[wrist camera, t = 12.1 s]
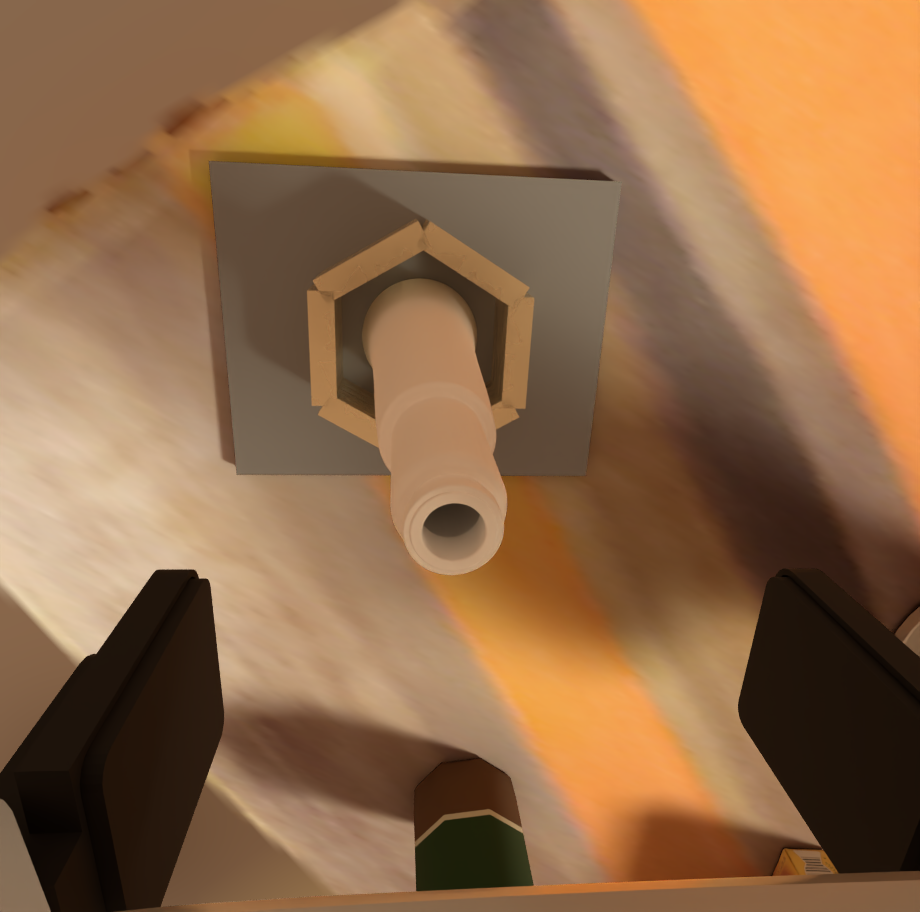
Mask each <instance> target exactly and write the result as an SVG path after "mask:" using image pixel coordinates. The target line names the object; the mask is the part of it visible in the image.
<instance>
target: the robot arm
mask: <svg viewBox="0 0 920 912" xmlns="http://www.w3.org/2000/svg"><path fill="white" fill-rule="evenodd" d="M738 712H739V717H740V720H741V723H742V725H743V726H744V728H745V730H746V731H747V733H748V734H749V736H750V737H751V739H752V740H753V742H754V743H755V745H756V747H757V748H758V750H759V751H760V753H761V754H762V756H763V757H764V759H765V760H766V762H767V764H768V765H769V767H770V768H771V770H772V771H773V773H774V774H775V776H776V777H777V779H778V781H779V782H780V784H781V785H782V787H783V788H784V790H785V791H786V793H787V794H788V796H789V798H790V799H791V801H792V802H793V804H794V805H795V807H796V808H797V810H798V811H799V813H800V815H801V816H802V818H803V819H804V821H805V822H806V824H807V825H808V827H809V828H810V830H811V831H812V833H813V835H814V836H815V838H816V839H817V841H818V842H819V844H820V845H821V847H822V848H823V850H824V852H825V853H826V855H827V856H828V858H829V859H830V861H831V862H832V864H833V865H834V867H835V869H836V870H837V872H838V873H839V874H816V875H788V876H760V877H733V878H708V879H684V880H659V881H635V882H611V883H588V884H565V885H542V886H519V887H497V888H476V889H456V890H435V891H415V892H394V893H374V894H353V895H333V896H313V897H297V898H281V899H266V900H252V901H236V902H220V903H205V904H191V905H176V906H166V907H160V906H161V904H162V901H163V898H164V895H165V892H166V890H167V887H168V883H169V881H170V878H171V876H172V873H173V870H174V867H175V864H176V862H177V859H178V856H179V853H180V850H181V848H182V845H183V842H184V839H185V836H186V833H187V831H188V828H189V825H190V822H191V820H192V816H193V814H194V811H195V808H196V806H197V802H198V800H199V797H200V794H201V792H202V788H203V786H204V783H205V780H206V778H207V775H208V772H209V769H210V766H211V764H212V761H213V758H214V755H215V752H216V750H217V747H218V744H219V741H220V738H221V735H222V731H223V724H224V708H223V698H222V689H221V680H220V671H219V661H218V652H217V643H216V633H215V624H214V615H213V606H212V596H211V587H210V583H209V580H208V579H199V577H198V574H197V572H196V571H195V570H156V571H155V572H154V573H153V574H152V576H151V577H150V579H149V580H148V582H147V583H146V584H145V586H144V587H143V589H142V590H141V591H140V593H139V594H138V596H137V597H136V599H135V600H134V601H133V603H132V604H131V606H130V607H129V609H128V610H127V611H126V613H125V614H124V616H123V617H122V618H121V620H120V621H119V623H118V624H117V626H116V627H115V628H114V630H113V631H112V633H111V634H110V635H109V637H108V638H107V640H106V641H105V643H104V644H103V645H102V647H101V648H100V650H99V651H98V653H97V654H92V655H89V656H87V657H86V658H85V659H84V660H83V661H82V662H81V663H80V664H79V665H78V667H77V668H76V670H75V671H74V672H73V674H72V675H71V676H70V678H69V679H68V681H67V682H66V683H65V685H64V686H63V688H62V689H61V690H60V692H59V693H58V694H57V696H56V697H55V699H54V700H53V701H52V703H51V704H50V705H49V707H48V708H47V710H46V711H45V712H44V714H43V715H42V716H41V718H40V719H39V721H38V722H37V723H36V725H35V726H34V727H33V729H32V730H31V732H30V733H29V735H28V736H27V737H26V738H25V740H24V741H23V743H22V744H21V745H20V747H19V748H18V749H17V751H16V752H15V754H14V755H13V756H12V758H11V759H10V761H9V762H8V763H7V765H6V766H5V767H4V769H3V771H2V772H1V773H0V912H920V607H918V608H917V609H916V610H915V611H914V612H913V613H912V614H911V615H910V616H909V617H908V618H907V619H906V620H905V621H904V623H903V624H902V625H901V626H900V627H899V629H898V630H897V632H896V633H895V635H894V634H893V633H892V632H890V631H889V630H888V629H887V628H886V627H885V626H884V625H882V624H881V623H880V622H879V621H878V620H877V619H876V618H874V617H873V616H872V615H871V614H870V613H869V612H868V611H866V610H865V609H864V608H863V607H862V606H861V605H860V604H858V603H857V602H856V601H855V600H854V599H853V598H852V597H850V596H849V595H848V594H847V593H846V592H845V591H844V590H842V589H841V588H840V587H839V586H838V585H837V584H836V583H834V582H833V581H832V580H831V579H830V578H829V577H828V576H826V575H825V574H824V573H823V572H822V571H820V570H818V569H782V570H780V571H779V572H778V573H777V574H776V577H772V578H770V579H769V581H768V582H767V585H766V588H765V593H764V597H763V601H762V605H761V609H760V614H759V618H758V622H757V626H756V630H755V635H754V639H753V643H752V647H751V651H750V656H749V660H748V664H747V668H746V672H745V676H744V681H743V685H742V689H741V693H740V697H739V702H738Z"/></svg>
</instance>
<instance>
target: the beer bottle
mask: <svg viewBox="0 0 920 912" xmlns="http://www.w3.org/2000/svg"><path fill="white" fill-rule="evenodd" d="M414 830H415V863H416V891H435V890H456V889H476V888H497V887H519V886H534V885H533V880H532V875H531V870H530V865H529V860H528V855H527V850H526V845H525V840H524V835H523V830H522V826H521V821H520V816H519V811H518V806H517V801H516V796H515V793H514V789H513V785H512V782H511V778H510V777H509V776H508V775H507V774H505V773H503V772H502V771H500V770H498V769H497V768H495V767H493V766H492V765H490V764H488V763H487V762H485V761H484V760H482V759H480V758H477V759H468V760H460V761H452V762H444V763H441V764H440V765H439V766H438V767H437V768H436V769H435V770H434V771H433V772H431V773H430V774H429V775H428V776H427V777H426V778H425V779H424V780H423V781H422V782H421V783H420V784H419V785H418V786H417V787H416V789H415V795H414Z"/></svg>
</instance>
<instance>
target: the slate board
mask: <svg viewBox="0 0 920 912" xmlns="http://www.w3.org/2000/svg"><path fill="white" fill-rule="evenodd" d="M209 168H210V180H211V191H212V202H213V214H214V225H215V236H216V248H217V259H218V270H219V281H220V293H221V304H222V315H223V327H224V338H225V349H226V360H227V372H228V383H229V394H230V406H231V417H232V428H233V439H234V451H235V462H236V473H237V475H391V472H390V471H389V469H388V468H387V466H386V465H385V463H384V461H383V459H382V457H381V454H380V450H379V448H378V447H376V446H374V445H372V444H370V443H369V442H367V441H365V440H363V439H361V438H359V437H358V436H356V435H354V434H352V433H350V432H348V431H346V430H345V429H343V428H341V427H339V426H337V425H335V424H334V423H332V422H330V421H328V420H326V419H324V418H323V417H321V416H319V415H318V412H319V410H320V407H321V406H312V401H311V376H310V352H309V328H308V304H307V290H308V289H309V288H310V287H311V286H312V285H313V284H314V282H313V279H314V278H316V277H317V276H318V275H319V274H320V273H321V272H322V271H324V270H325V269H327V268H329V267H331V266H333V265H334V264H336V263H338V262H340V261H341V260H343V259H345V258H347V257H348V256H350V255H352V254H354V253H356V252H357V251H359V250H361V249H363V248H364V247H366V246H368V245H370V244H372V243H373V242H375V241H377V240H379V239H380V238H382V237H384V236H386V235H387V234H389V233H391V232H393V231H395V230H396V229H398V228H400V227H402V226H403V225H405V224H407V223H409V222H411V221H412V220H414V219H417V220H418V221H419V223H420V225H421V227H422V225H423V224H424V222H425V220H426V219H427V220H429V221H431V222H432V223H434V224H435V225H437V226H438V227H440V228H441V229H443V230H444V231H446V232H447V233H449V234H450V235H452V236H453V237H455V238H456V239H458V240H459V241H461V242H462V243H464V244H465V245H467V246H468V247H470V248H471V249H473V250H474V251H476V252H477V253H479V254H480V255H482V256H483V257H485V258H486V259H488V260H489V261H491V262H492V263H494V264H495V265H497V266H498V267H500V268H501V269H503V270H504V271H506V272H507V273H509V274H510V275H512V276H513V277H515V278H516V279H518V280H519V281H521V282H522V283H524V284H525V285H527V286H528V287H530V288H529V289H528V291H527V293H528V294H530V295H531V296H533V297H534V309H533V321H532V333H531V346H530V358H529V370H528V382H527V395H526V407H525V409H515V410H516V412H517V414H518V415H519V418H517V419H515V420H513V421H511V422H510V423H508V424H506V425H504V426H502V427H500V428H498V429H496V445H495V449H494V452H493V457H494V459H495V462H496V465H497V467H498V470H499V473H500V475H501V476H586V471H587V463H588V455H589V447H590V439H591V430H592V422H593V414H594V406H595V397H596V389H597V381H598V373H599V365H600V356H601V348H602V340H603V332H604V323H605V315H606V307H607V299H608V291H609V282H610V274H611V266H612V258H613V249H614V241H615V233H616V225H617V217H618V208H619V200H620V192H621V184H622V182H618V181H598V180H578V179H558V178H538V177H518V176H498V175H478V174H458V173H438V172H418V171H398V170H378V169H358V168H339V167H319V166H299V165H279V164H259V163H239V162H219V161H209ZM416 278H422V279H431V280H435V281H438V282H441V283H443V284H445V285H447V286H449V287H450V288H452V289H453V290H455V291H456V292H457V293H458V294H459V295H460V296H461V297H462V298H463V299H464V300H465V301H466V303H467V304H468V306H469V308H470V309H471V311H472V314H473V316H474V319H475V322H476V328H477V344H476V350H475V354H476V357H477V361H478V364H479V368H480V371H481V374H482V377H483V380H484V383H486V382H488V381H490V380H491V370H492V354H493V337H494V321H495V304H496V297H495V296H493V295H492V294H490V293H488V292H487V291H485V290H484V289H482V288H481V287H479V286H478V285H476V284H475V283H473V282H472V281H470V280H468V279H467V278H465V277H464V276H462V275H461V274H459V273H458V272H456V271H455V270H453V269H452V268H450V267H448V266H447V265H445V264H444V263H442V262H441V261H439V260H438V259H436V258H435V257H433V256H432V255H430V254H428V253H427V252H425V251H424V250H423V251H422V252H420V253H418V254H416V255H414V256H413V257H411V258H409V259H407V260H405V261H404V262H402V263H400V264H398V265H396V266H395V267H393V268H391V269H389V270H388V271H386V272H384V273H382V274H380V275H379V276H377V277H375V278H373V279H371V280H370V281H368V282H366V283H364V284H362V285H361V286H359V287H357V288H355V289H353V290H352V291H350V292H348V293H346V294H345V295H343V296H341V305H342V349H343V378H345V379H347V380H349V381H351V382H352V383H354V384H356V385H358V386H359V387H361V388H363V389H365V390H366V391H368V392H370V393H372V394H373V395H374V378H373V368H372V367H371V365H370V364H369V362H368V360H367V357H366V355H365V352H364V348H363V342H362V329H363V323H364V319H365V316H366V314H367V311H368V309H369V307H370V306H371V304H372V303H373V301H374V300H375V299H376V298H377V297H378V295H379V294H381V293H382V292H383V291H384V290H385V289H387V288H388V287H390V286H392V285H394V284H396V283H398V282H401V281H404V280H408V279H416Z"/></svg>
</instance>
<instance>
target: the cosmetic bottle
mask: <svg viewBox="0 0 920 912" xmlns="http://www.w3.org/2000/svg"><path fill="white" fill-rule="evenodd" d="M362 342H363V348H364V352H365V355H366V357H367V360H368V362H369V364H370V365H371V367H372V368H373V378H374V400H375V418H376V429H377V438H378V445H379V450H380V454H381V457H382V459H383V461H384V463H385V465H386V466H387V468H388V469H389V471H390V472H391V497H390V510H391V516H392V520H393V523H394V526H395V528H396V530H397V532H398V533H399V535H400V537H401V538H402V539H403V540H404V544H405V547H406V549H407V551H408V553H409V554H410V555H411V557H412V558H413V559H414V560H415V561H416V562H417V563H418V564H419V565H421V566H422V567H424V568H425V569H427V570H429V571H432V572H434V573H438V574H443V575H459V574H465V573H468V572H471V571H474V570H476V569H478V568H480V567H481V566H483V565H484V564H485V563H487V562H488V561H489V560H490V559H491V558H492V557H493V556H494V555H495V553H496V552H497V550H498V549H499V546H500V544H501V542H502V539H503V535H504V521H505V517H506V513H507V493H506V489H505V486H504V483H503V480H502V478H501V475H500V473H499V470H498V467H497V465H496V462H495V459H494V457H493V452H494V449H495V445H496V427H495V421H494V417H493V413H492V409H491V404H490V401H489V397H488V394H487V390H486V387H485V384H484V380H483V377H482V374H481V371H480V368H479V364H478V361H477V357H476V354H475V350H476V344H477V328H476V322H475V319H474V316H473V314H472V311H471V309H470V308H469V306H468V304H467V303H466V301H465V300H464V299H463V298H462V297H461V296H460V295H459V294H458V293H457V292H456V291H455V290H453V289H452V288H450V287H449V286H447V285H445V284H443V283H441V282H438V281H435V280H431V279H422V278H416V279H408V280H404V281H401V282H398V283H396V284H394V285H392V286H390V287H388V288H387V289H385V290H384V291H383V292H382V293H381V294H379V295H378V297H377V298H376V299H375V300H374V301H373V303H372V304H371V306H370V307H369V309H368V311H367V314H366V316H365V319H364V323H363V329H362Z"/></svg>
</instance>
